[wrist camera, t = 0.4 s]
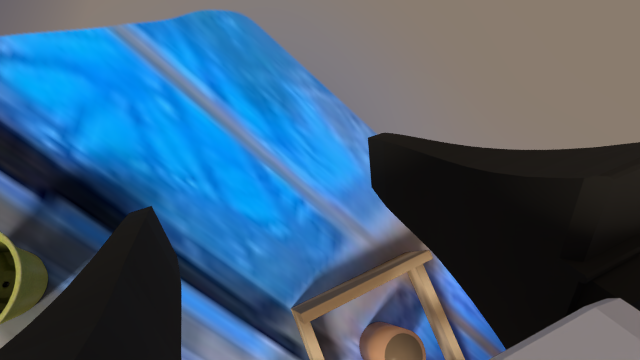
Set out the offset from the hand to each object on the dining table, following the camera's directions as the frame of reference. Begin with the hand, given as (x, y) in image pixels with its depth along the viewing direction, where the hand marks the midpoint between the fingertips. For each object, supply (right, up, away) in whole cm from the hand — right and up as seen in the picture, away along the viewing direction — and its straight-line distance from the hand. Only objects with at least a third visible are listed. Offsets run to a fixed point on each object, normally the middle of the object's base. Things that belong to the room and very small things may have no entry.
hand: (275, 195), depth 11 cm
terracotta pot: (+8, -19, +28) cm, 34 cm away
